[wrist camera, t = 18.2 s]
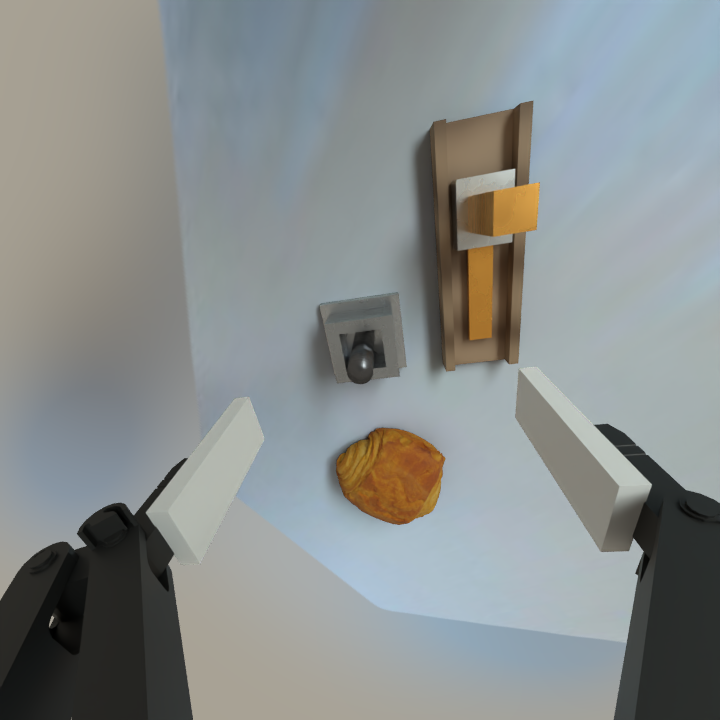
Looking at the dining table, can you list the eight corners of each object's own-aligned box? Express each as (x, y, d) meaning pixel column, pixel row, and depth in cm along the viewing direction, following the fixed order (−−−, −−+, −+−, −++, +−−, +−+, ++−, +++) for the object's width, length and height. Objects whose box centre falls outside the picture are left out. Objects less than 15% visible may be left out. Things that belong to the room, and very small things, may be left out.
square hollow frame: (330, 313, 35) (324, 324, 32) (390, 304, 34) (392, 315, 31) (341, 367, 38) (337, 383, 34) (397, 360, 37) (399, 376, 34)
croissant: (399, 499, 52) (407, 549, 45) (321, 464, 47) (317, 514, 40) (461, 449, 46) (481, 498, 39) (380, 403, 41) (387, 449, 34)
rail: (429, 129, 28) (434, 121, 26) (521, 109, 27) (533, 100, 25) (442, 362, 38) (446, 371, 36) (510, 354, 37) (518, 363, 35)
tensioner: (451, 182, 29) (478, 168, 21) (506, 171, 28) (557, 153, 20) (456, 339, 35) (479, 376, 27) (501, 333, 35) (538, 369, 27)
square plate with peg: (321, 303, 36) (300, 333, 27) (398, 292, 35) (404, 318, 26) (335, 371, 39) (322, 417, 30) (405, 363, 38) (413, 408, 29)
